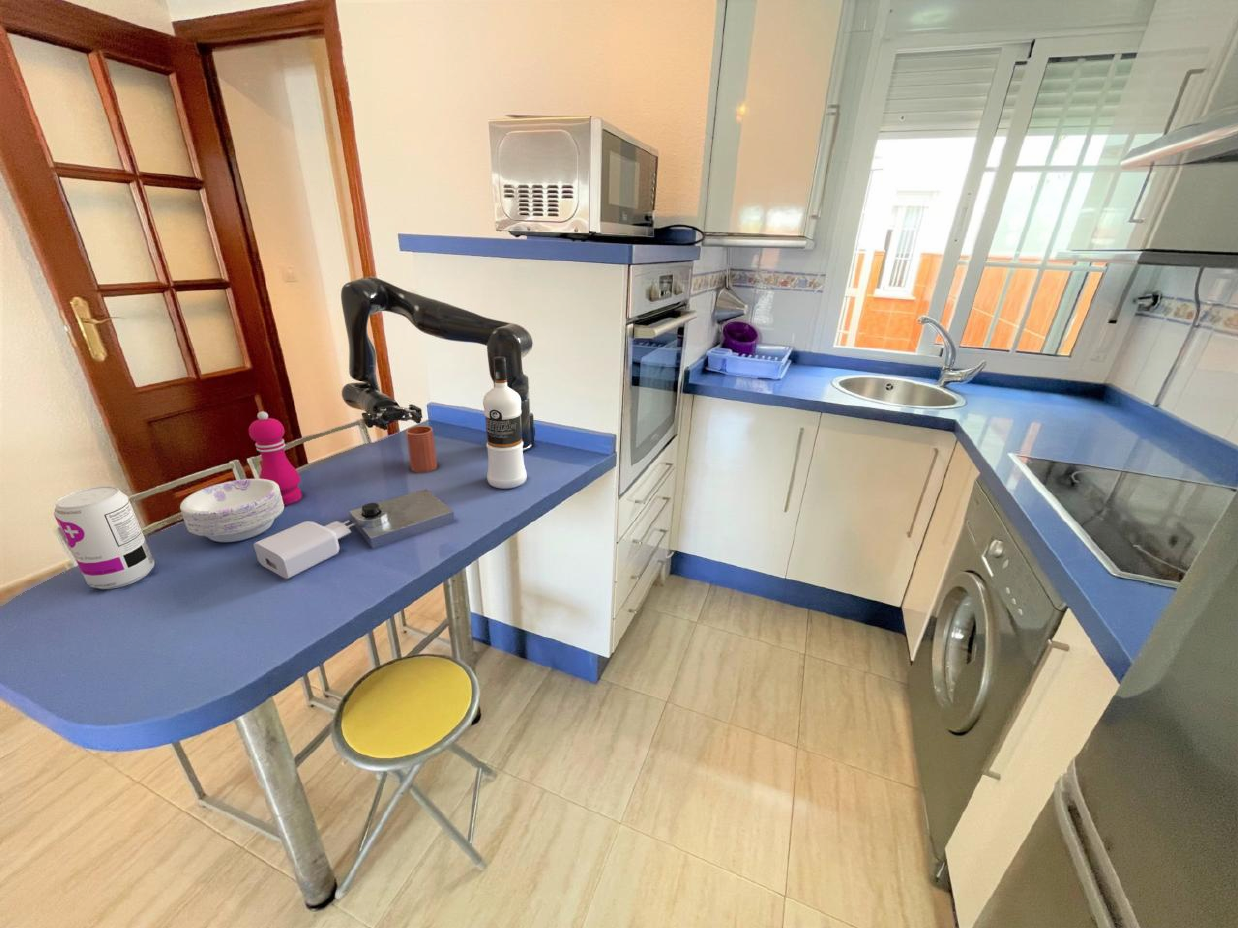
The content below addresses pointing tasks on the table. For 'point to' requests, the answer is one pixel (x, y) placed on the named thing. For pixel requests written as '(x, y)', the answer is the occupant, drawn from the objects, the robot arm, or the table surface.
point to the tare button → (370, 510)
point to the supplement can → (104, 536)
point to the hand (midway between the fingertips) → (402, 423)
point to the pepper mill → (275, 457)
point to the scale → (402, 518)
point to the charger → (300, 547)
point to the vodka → (504, 432)
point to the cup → (421, 448)
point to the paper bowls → (233, 509)
